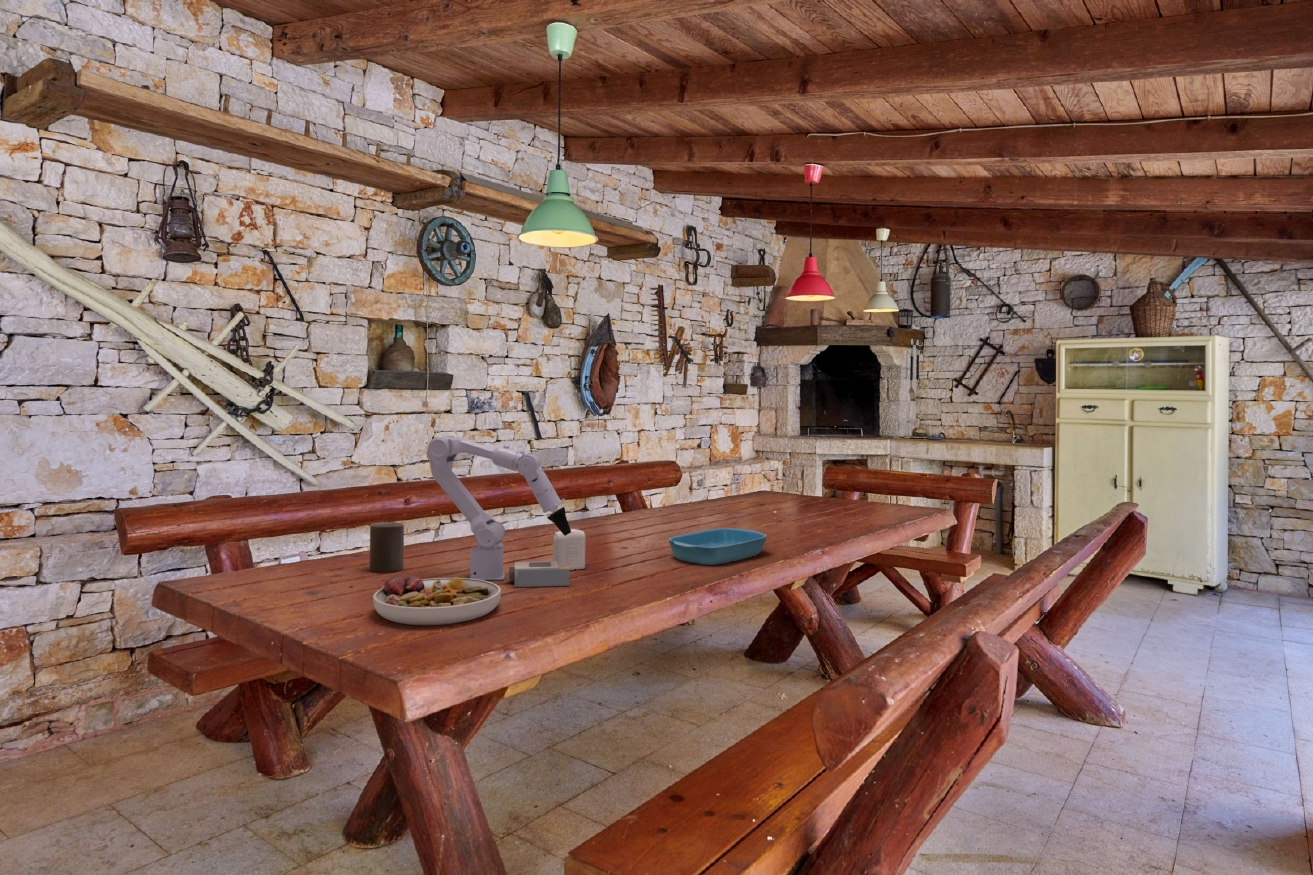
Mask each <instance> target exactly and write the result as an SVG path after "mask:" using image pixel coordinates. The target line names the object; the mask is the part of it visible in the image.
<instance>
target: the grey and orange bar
mask: <svg viewBox="0 0 1313 875" xmlns="http://www.w3.org/2000/svg"><path fill="white" fill-rule="evenodd" d="M513 582H514V584H513V585H514V588H526V587H527V588H528V587H531V588H532V587H559V586H560V587H566V586H567V587H569V586H570V570H569V567H560V569H528V570H515V579H514V581H513Z"/></svg>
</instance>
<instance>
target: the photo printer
mask: <svg viewBox="0 0 1313 875" xmlns="http://www.w3.org/2000/svg"><path fill="white" fill-rule="evenodd" d="M570 529H571V533H569V534H568V535H566V536H565V535H563V533H562V532H561V531H560V530H559V531H556V532H555V533H553V536H552V561H557V563H558V569H560V567H569V571H575V569H576V570H584V569H585V568H586V533H585V532H584V531H583V530H581V529H577V528H570Z"/></svg>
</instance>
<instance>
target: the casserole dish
mask: <svg viewBox="0 0 1313 875" xmlns="http://www.w3.org/2000/svg"><path fill="white" fill-rule="evenodd" d="M767 537H768V536H767V534H765V533H762V532H760V531H758V530H753V529H745V528H731V527H722V528H721V527H719V528H712V529H706V530H700V531H696V532H690V533H685V534H679V535H675V536H671V537H669V538H668V542H669V545H670V548H671V552H672V553H673V554H672V555H673V556H674V557H675V558H676V559H677V560H680V561H683V562H688V563H693V564H697V565H702V566H703V565H704V566H717V565H724V564H726V563H727V564H728V563H732V562H731V561H733V562H736V561H741V560H745V559H749V558H753V557H756V556H757V555H758V554H760V553H761V552H762V551H763V549H764V545H765V543H766V539H767ZM752 556H753V557H752Z"/></svg>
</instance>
